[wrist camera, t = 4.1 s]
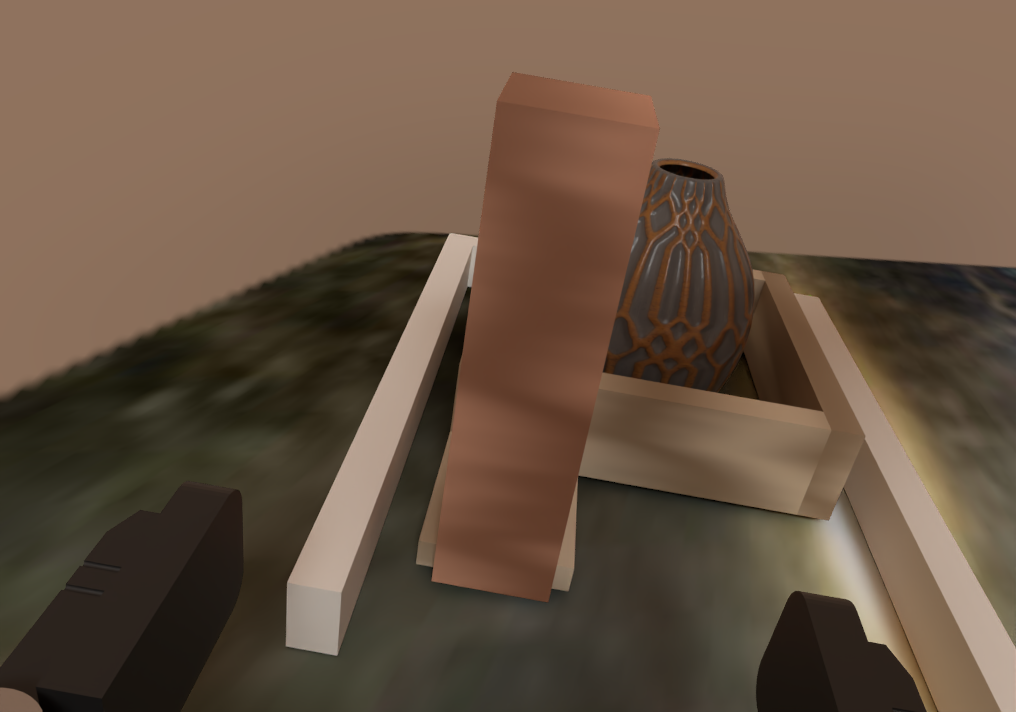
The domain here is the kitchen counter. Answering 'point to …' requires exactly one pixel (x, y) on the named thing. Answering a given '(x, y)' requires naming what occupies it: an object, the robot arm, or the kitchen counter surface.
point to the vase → (683, 284)
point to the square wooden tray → (602, 362)
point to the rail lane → (870, 488)
